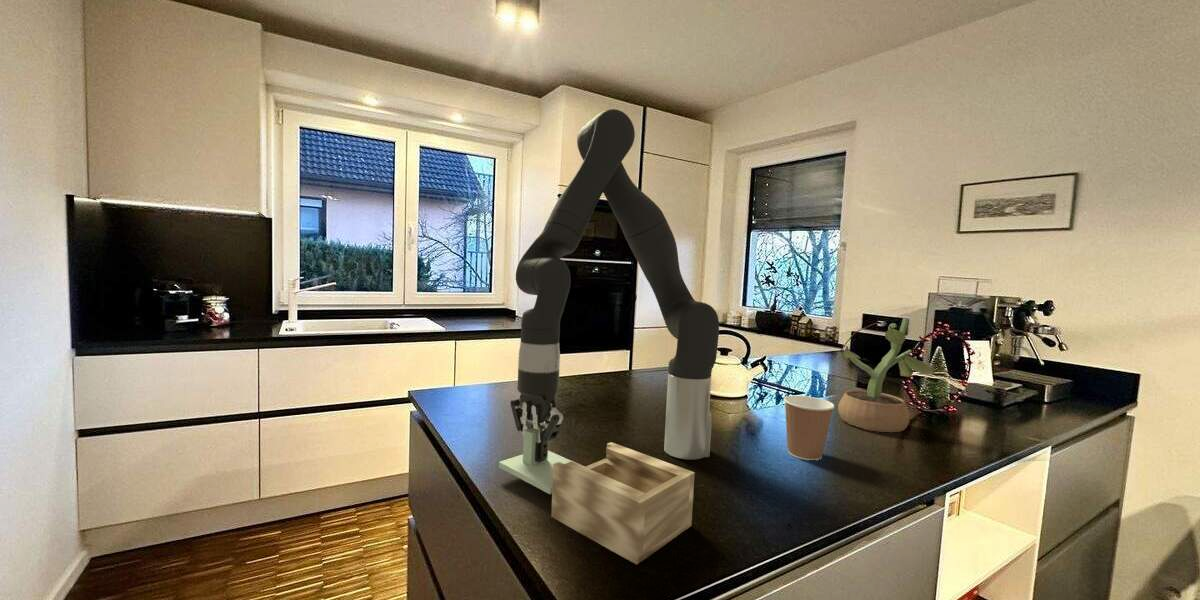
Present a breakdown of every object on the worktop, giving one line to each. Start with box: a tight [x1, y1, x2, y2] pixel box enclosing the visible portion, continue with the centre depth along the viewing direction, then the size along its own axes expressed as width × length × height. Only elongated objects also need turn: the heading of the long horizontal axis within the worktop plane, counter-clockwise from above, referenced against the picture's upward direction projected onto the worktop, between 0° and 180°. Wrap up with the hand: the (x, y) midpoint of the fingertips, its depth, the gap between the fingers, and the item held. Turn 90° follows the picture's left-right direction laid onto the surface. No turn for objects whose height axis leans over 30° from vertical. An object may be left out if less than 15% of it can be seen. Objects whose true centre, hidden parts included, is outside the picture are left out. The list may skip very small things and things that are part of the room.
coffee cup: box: [783, 395, 835, 461], centre depth 106 cm, size 10×10×12 cm
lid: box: [498, 428, 585, 495], centre depth 87 cm, size 14×10×7 cm
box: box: [550, 442, 696, 565], centre depth 75 cm, size 17×14×9 cm
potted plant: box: [837, 318, 936, 433], centre depth 127 cm, size 22×18×30 cm
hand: (535, 458), depth 89 cm, fingers closed on lid, 2 cm apart
